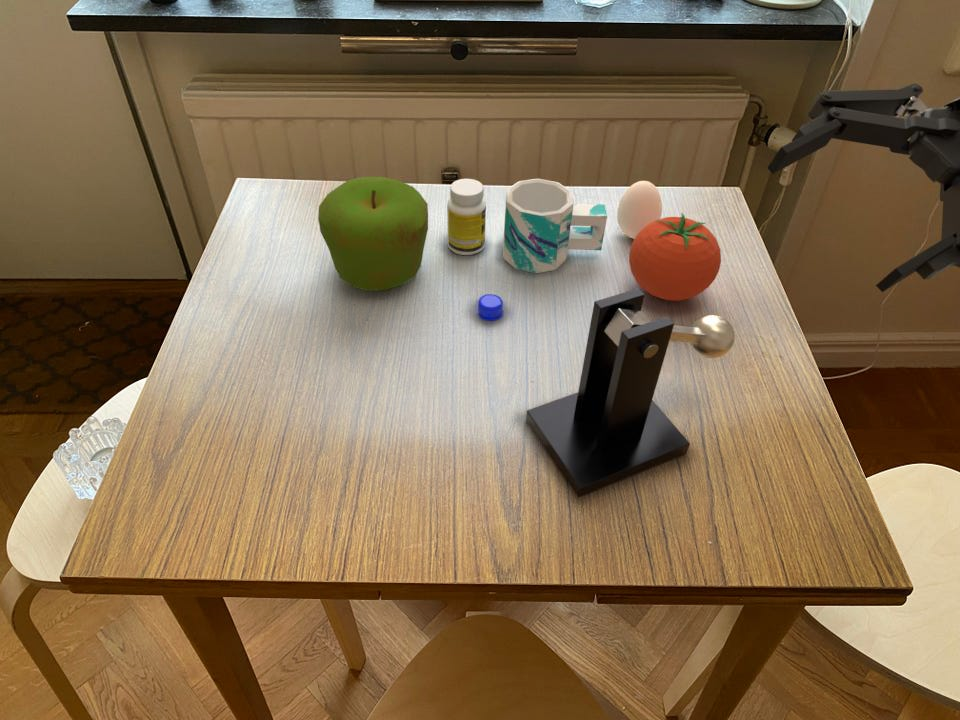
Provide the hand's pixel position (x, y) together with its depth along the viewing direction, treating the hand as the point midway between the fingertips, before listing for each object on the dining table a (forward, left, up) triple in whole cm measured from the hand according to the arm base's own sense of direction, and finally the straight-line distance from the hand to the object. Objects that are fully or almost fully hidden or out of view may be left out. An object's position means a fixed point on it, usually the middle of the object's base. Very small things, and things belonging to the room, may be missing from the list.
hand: (830, 218), depth 59 cm
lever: (+1, +13, -11) cm, 17 cm away
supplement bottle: (+35, +17, -21) cm, 44 cm away
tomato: (+17, -1, -21) cm, 27 cm away
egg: (+28, -4, -21) cm, 35 cm away
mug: (+29, +8, -21) cm, 37 cm away
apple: (+34, +29, -21) cm, 49 cm away
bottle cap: (+22, +20, -21) cm, 36 cm away
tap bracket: (+1, +18, -21) cm, 27 cm away
